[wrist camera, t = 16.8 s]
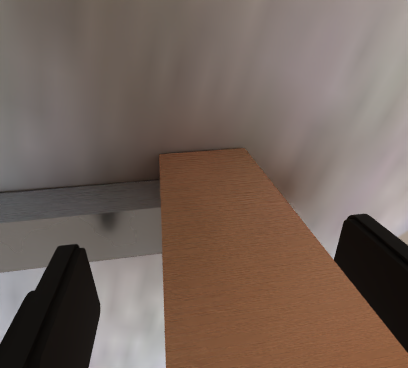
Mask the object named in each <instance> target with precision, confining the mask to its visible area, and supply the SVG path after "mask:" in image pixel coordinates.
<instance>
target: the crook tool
mask: <svg viewBox="0 0 408 368" xmlns="http://www.w3.org/2000/svg"><path fill="white" fill-rule="evenodd" d="M159 164H160V180H152V181H140V182H128V183H116V184H105V185H93V186H81V187H69V188H58V189H46V190H34V191H22V192H11V193H0V273H1V272H9V271H18V270H26V269H34V268H43V267H47V266H48V264H49V262H50V260H51V258H52V256H53V254H54V252H55V250H56V248H57V247H58V246H61V245H70V244H78V245H79V247H80V248H85V250H86V253H87V257H88V261H89V262H93V261H101V260H109V259H118V258H126V257H134V256H143V255H151V254H159V253H162V257H163V288H164V319H165V350H166V368H408V353H407V352H406V350H405V349H404V348H403V347H402V345H401V344H400V343H399V342H398V340H397V339H396V338H395V336H394V335H393V334H392V333H391V331H390V330H389V329H388V328H387V326H386V325H385V324H384V323H383V321H382V320H381V319H380V318H379V316H378V315H377V314H376V313H375V311H374V310H373V309H372V308H371V306H370V305H369V304H368V303H367V301H366V300H365V299H364V298H363V296H362V295H361V294H360V293H359V291H358V290H357V289H356V287H355V286H354V285H353V284H352V282H351V281H350V280H349V279H348V277H347V276H346V275H345V274H344V272H343V271H342V270H341V269H340V267H339V266H338V265H337V264H336V262H335V261H334V260H333V259H332V257H331V256H330V255H329V254H328V252H327V251H326V250H325V249H324V247H323V246H322V245H321V244H320V242H319V241H318V240H317V238H316V237H315V236H314V235H313V233H312V232H311V231H310V230H309V228H308V227H307V226H306V225H305V223H304V222H303V221H302V220H301V218H300V217H299V216H298V215H297V213H296V212H295V211H294V210H293V208H292V207H291V206H290V205H289V203H288V202H287V201H286V200H285V198H284V197H283V196H282V195H281V193H280V192H279V191H278V190H277V188H276V187H275V186H274V184H273V183H272V182H271V181H270V179H269V178H268V177H267V176H266V174H265V173H264V172H263V171H262V169H261V168H260V167H259V166H258V164H257V163H256V162H255V161H254V159H253V158H252V157H251V156H250V154H249V153H248V152H247V151H246V149H245V148H239V149H225V150H212V151H198V152H184V153H170V154H159Z"/></svg>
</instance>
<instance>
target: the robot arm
mask: <svg viewBox="0 0 408 368" xmlns="http://www.w3.org/2000/svg"><path fill="white" fill-rule="evenodd" d="M334 261H335V262H336V264H337V265H338V266H339V267H340V269H341V270H342V271H343V272H344V274H345V275H346V276H347V277H348V279H349V280H350V281H351V282H352V284H353V285H354V286H355V287H356V289H357V290H358V291H359V293H360V294H361V295H362V296H363V298H364V299H365V300H366V301H367V303H368V304H369V305H370V306H371V308H372V309H373V310H374V311H375V313H376V314H377V315H378V316H379V318H380V319H381V320H382V321H383V323H384V324H385V325H386V326H387V328H388V329H389V330H390V331H391V333H392V334H393V335H394V336H395V338H396V339H397V340H398V342H399V343H400V344H401V345H402V347H403V348H404V349H405V350H406V352H407V353H408V245H407V244H405V243H404V242H403V241H401V240H400V239H399V238H398V237H396V236H395V235H394V234H392V233H391V232H390V231H389V230H387V229H386V228H385V227H383V226H382V225H381V224H380V223H378V222H377V221H376V220H374V219H373V218H372V217H371V216H369V215H367V214H357V215H350V216H349V217H348V218H347V220H345V221H344V223H343V227H342V230H341V234H340V238H339V242H338V246H337V250H336V254H335V257H334ZM99 317H100V302H99V298H98V295H97V291H96V287H95V283H94V280H93V276H92V272H91V268H90V264H89V261H88V257H87V253H86V250H85V248H80V247H79V245H78V244H70V245H61V246H58V247H57V248H56V250H55V252H54V254H53V256H52V258H51V260H50V262H49V264H48V266H47V268H46V270H45V272H44V274H43V276H42V278H41V280H40V282H39V284H38V286H37V288H36V290H35V291H31V292H29V293H28V294H27V296H26V297H25V299H24V300H23V302H22V304H21V306H20V308H19V310H18V312H17V314H16V315H15V317H14V319H13V321H12V323H11V325H10V327H9V329H8V330H7V332H6V334H5V336H4V338H3V340H2V342H1V344H0V368H88V367H89V363H90V358H91V354H92V349H93V344H94V340H95V335H96V331H97V326H98V321H99Z"/></svg>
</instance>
